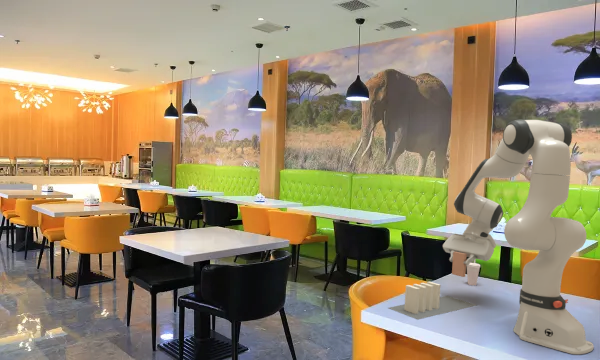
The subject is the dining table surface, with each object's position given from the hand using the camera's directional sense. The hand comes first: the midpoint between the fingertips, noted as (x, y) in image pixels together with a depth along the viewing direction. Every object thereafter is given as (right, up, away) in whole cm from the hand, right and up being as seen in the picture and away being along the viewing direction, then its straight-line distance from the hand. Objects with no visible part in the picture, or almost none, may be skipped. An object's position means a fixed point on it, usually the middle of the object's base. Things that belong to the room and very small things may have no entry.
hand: (458, 262), depth 178 cm
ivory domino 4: (-13, -15, -8) cm, 21 cm away
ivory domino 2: (-19, -15, -13) cm, 28 cm away
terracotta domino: (0, -5, +1) cm, 5 cm away
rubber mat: (-12, -16, -7) cm, 21 cm away
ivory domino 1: (-23, -15, -15) cm, 31 cm away
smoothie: (+18, -16, +33) cm, 41 cm away
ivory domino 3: (-16, -15, -10) cm, 24 cm away
